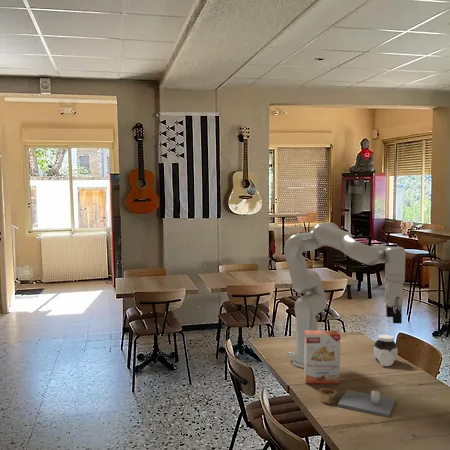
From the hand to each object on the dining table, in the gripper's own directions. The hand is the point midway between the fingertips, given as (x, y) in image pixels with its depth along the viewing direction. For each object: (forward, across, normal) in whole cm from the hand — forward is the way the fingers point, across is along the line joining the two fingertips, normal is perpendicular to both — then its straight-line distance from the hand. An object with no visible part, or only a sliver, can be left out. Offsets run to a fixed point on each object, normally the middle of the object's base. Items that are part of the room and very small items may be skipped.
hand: (393, 319), depth 190 cm
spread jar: (+27, -28, +4) cm, 39 cm away
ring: (+27, +15, -28) cm, 42 cm away
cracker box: (+27, -2, -28) cm, 39 cm away
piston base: (+27, +18, -14) cm, 35 cm away
